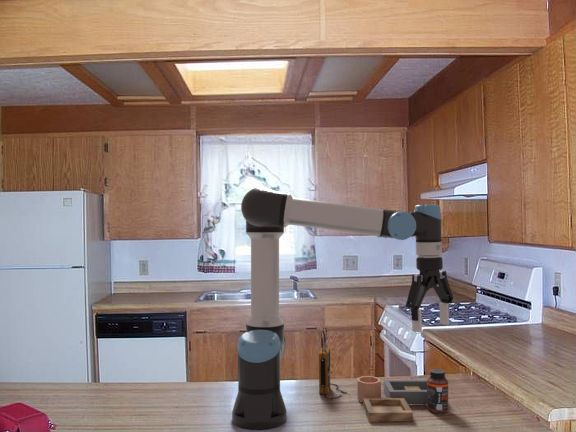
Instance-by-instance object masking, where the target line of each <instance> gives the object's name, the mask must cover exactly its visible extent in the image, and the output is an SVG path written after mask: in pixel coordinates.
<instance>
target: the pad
mask: <svg viewBox="0 0 576 432" xmlns="http://www.w3.org/2000/svg"><path fill="white" fill-rule="evenodd" d="M404 390H421V389H420V388H419V387H418V386H404Z"/></svg>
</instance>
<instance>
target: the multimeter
mask: <svg viewBox="0 0 576 432" xmlns="http://www.w3.org/2000/svg"><path fill="white" fill-rule="evenodd" d="M324 329H325V330H324ZM327 332H328V330H327V328H326V327H322V331H321V333H320V341H321V343H320V345H322V346H321V349H320V351H319V352H318V384H319V385H318V387H319V388H318V392H319V395H324V398H326V399H328V400H334V399H338V398H340V397H342V396H344V395H345V394H346V393H347V394H349V395H350V392H347V391H346V390H343V389H339V385H337V384H335V383H331V348H330V347H327V346H328V345H327V338H326V337H327V335H328V334H327ZM331 385H333V386H336V388H335V389H336V390H337V391H339V392H341V393H343V394H339V395H336V396H335V397H331V398H330V399H329V397H327V396H326V395H329V391H330V389H331ZM337 397H338V398H337ZM333 398H334V399H333Z"/></svg>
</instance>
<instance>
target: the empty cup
mask: <svg viewBox="0 0 576 432" xmlns="http://www.w3.org/2000/svg"><path fill="white" fill-rule="evenodd" d="M356 396H357V399H356V400H359V401H358V402H360V401H361V402H360V403H363V398H382V381H381V379H380V377H376V376H373V375H362V376H359V377H356Z"/></svg>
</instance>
